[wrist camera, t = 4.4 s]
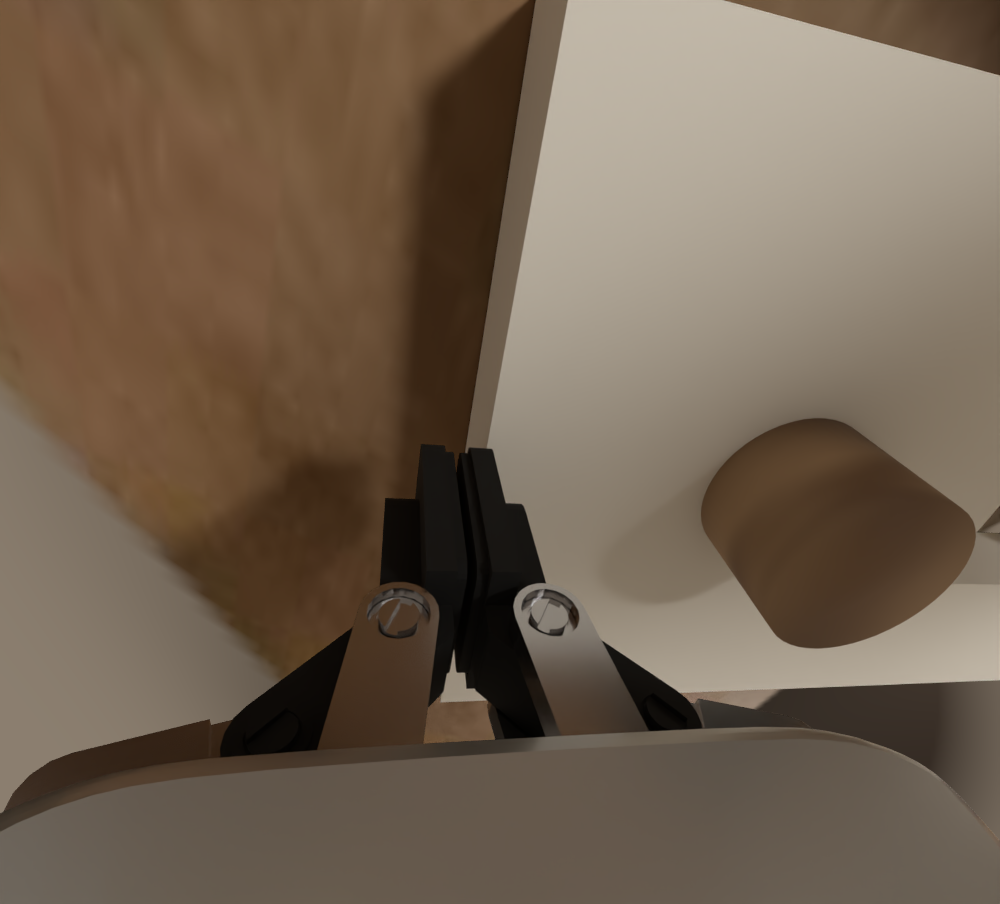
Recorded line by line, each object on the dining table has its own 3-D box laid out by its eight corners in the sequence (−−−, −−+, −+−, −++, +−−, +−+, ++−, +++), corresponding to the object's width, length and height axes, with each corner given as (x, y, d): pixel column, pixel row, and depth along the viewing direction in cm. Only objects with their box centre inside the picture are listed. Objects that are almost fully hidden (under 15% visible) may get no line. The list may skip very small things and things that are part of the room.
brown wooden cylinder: (901, 425, 15) (1021, 504, 12) (814, 555, 17) (895, 646, 14) (743, 410, 14) (833, 494, 11) (677, 552, 16) (734, 650, 13)
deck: (1390, 209, 17) (1562, 228, 14) (979, 626, 27) (1036, 678, 25) (536, -8, 11) (575, -40, 8) (436, 632, 21) (440, 702, 19)
